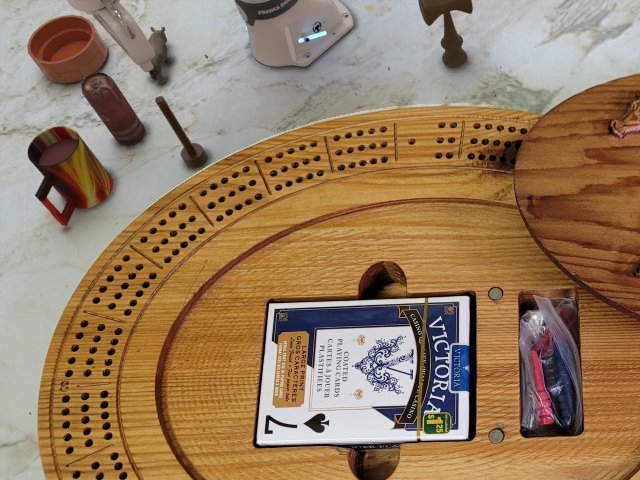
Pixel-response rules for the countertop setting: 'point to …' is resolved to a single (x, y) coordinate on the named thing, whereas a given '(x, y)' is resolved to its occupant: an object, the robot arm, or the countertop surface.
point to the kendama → (447, 27)
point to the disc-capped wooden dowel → (183, 138)
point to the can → (113, 108)
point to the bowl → (67, 48)
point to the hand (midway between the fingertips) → (135, 53)
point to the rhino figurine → (158, 53)
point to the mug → (68, 171)
